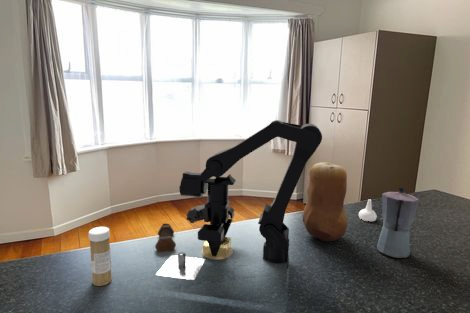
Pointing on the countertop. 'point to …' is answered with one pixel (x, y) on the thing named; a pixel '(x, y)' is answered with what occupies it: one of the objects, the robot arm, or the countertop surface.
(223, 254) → the brass square sleeve
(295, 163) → the robot arm
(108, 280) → the sprinkles bottle
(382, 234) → the moka pot
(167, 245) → the bolt
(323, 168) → the butternut squash
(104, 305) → the countertop surface
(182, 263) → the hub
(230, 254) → the stand
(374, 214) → the garlic bulb
